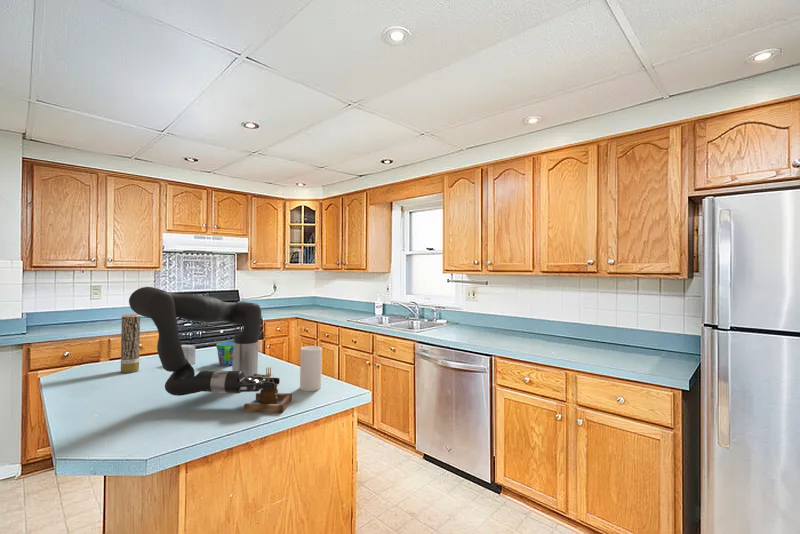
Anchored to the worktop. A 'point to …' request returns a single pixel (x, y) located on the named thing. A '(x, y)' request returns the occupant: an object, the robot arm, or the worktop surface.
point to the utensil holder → (269, 392)
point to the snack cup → (225, 353)
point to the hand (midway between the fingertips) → (276, 383)
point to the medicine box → (189, 353)
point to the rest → (270, 408)
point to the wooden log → (130, 343)
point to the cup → (310, 368)
